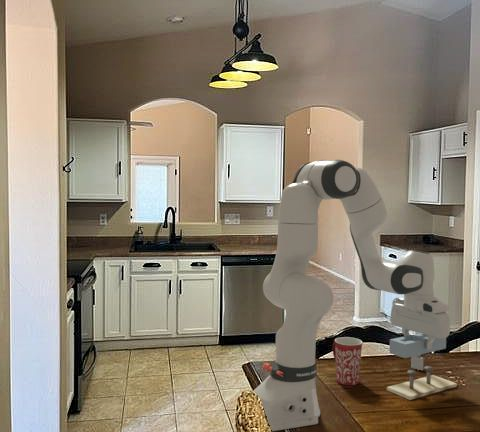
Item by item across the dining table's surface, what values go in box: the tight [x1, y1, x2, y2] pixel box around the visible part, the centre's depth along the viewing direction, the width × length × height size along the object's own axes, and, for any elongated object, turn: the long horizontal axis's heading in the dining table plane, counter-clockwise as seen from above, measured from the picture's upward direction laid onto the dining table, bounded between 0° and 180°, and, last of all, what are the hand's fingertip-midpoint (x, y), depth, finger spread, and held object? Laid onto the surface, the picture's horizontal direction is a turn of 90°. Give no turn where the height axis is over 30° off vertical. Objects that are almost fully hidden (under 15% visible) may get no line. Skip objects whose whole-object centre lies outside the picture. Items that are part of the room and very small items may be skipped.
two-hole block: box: [389, 332, 447, 359], centre depth 159 cm, size 19×6×4 cm, turn 121°
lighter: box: [410, 355, 424, 371], centre depth 180 cm, size 7×2×8 cm, turn 30°
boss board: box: [386, 365, 458, 401], centre depth 160 cm, size 22×9×6 cm, turn 121°
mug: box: [332, 336, 364, 386], centre depth 167 cm, size 13×9×14 cm
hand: (418, 345), depth 159 cm, fingers closed on two-hole block, 6 cm apart
